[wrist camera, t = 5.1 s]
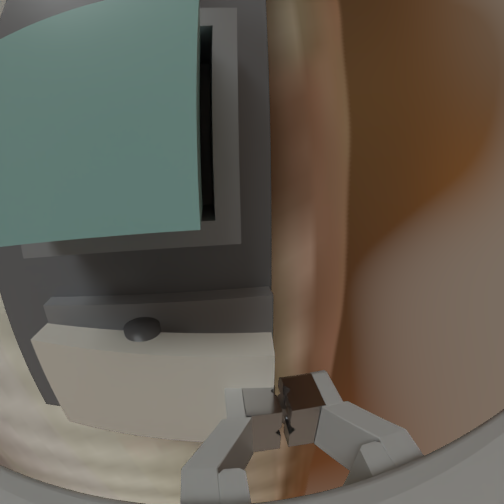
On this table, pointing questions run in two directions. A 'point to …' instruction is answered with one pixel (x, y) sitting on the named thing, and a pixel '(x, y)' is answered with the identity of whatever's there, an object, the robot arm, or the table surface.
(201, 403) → the rocker switch
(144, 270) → the control panel
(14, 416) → the table surface
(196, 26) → the push button
